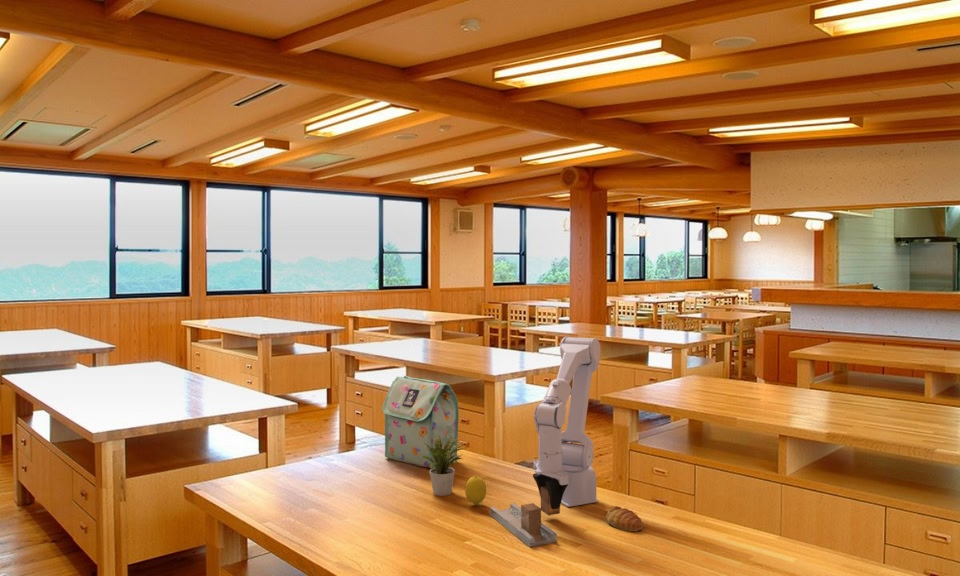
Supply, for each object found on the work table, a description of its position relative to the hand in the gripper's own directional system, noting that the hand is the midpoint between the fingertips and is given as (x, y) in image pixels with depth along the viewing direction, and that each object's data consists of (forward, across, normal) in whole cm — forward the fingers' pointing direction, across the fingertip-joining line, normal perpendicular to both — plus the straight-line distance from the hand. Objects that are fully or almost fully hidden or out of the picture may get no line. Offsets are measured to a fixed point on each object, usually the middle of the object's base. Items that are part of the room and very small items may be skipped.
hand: (550, 505), depth 175 cm
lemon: (+4, -17, -13) cm, 22 cm away
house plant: (+4, -29, -18) cm, 34 cm away
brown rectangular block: (+2, 0, 0) cm, 2 cm away
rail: (+4, +2, -9) cm, 10 cm away
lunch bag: (+4, -63, -13) cm, 65 cm away
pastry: (+4, +10, +15) cm, 19 cm away
